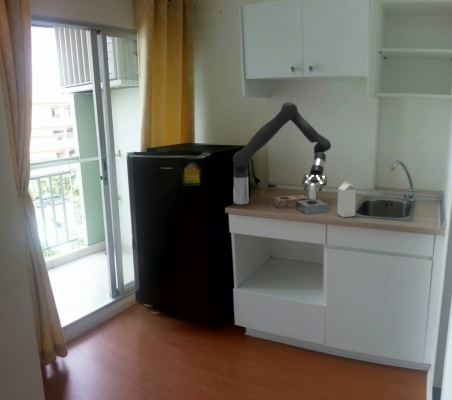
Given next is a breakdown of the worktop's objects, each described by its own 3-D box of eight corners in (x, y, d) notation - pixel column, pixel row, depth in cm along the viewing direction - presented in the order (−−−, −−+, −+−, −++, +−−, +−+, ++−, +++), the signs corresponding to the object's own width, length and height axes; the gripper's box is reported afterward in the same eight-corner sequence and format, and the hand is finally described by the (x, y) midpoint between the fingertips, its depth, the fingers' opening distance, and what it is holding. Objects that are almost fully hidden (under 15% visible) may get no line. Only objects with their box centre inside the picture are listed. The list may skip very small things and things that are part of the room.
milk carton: (343, 217, 227) (344, 183, 222) (337, 214, 233) (338, 181, 229) (354, 216, 228) (356, 182, 224) (348, 213, 235) (350, 180, 231)
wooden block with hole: (279, 208, 249) (279, 200, 248) (274, 204, 259) (273, 197, 258) (310, 206, 253) (310, 198, 252) (303, 202, 263) (303, 194, 262)
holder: (305, 213, 236) (305, 206, 235) (296, 208, 250) (296, 200, 249) (328, 211, 239) (328, 204, 238) (317, 206, 252) (317, 199, 251)
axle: (310, 211, 242) (310, 184, 238) (307, 209, 246) (307, 183, 242) (316, 210, 243) (317, 183, 239) (313, 208, 247) (314, 182, 243)
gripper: (304, 163, 250) (299, 185, 242) (328, 164, 244) (323, 187, 236) (307, 171, 256) (301, 192, 248) (330, 172, 250) (325, 194, 242)
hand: (312, 190), depth 242 cm, fingers open, 8 cm apart
